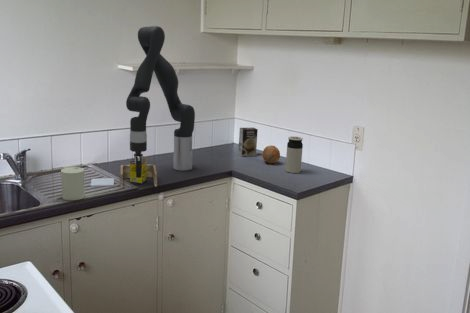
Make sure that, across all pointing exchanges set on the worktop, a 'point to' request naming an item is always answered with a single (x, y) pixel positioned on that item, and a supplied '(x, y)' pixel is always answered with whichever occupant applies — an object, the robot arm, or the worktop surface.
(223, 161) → the worktop surface
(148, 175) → the open wooden frame
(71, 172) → the can
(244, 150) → the coffee box
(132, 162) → the supplement box
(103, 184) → the pad
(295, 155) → the travel mug
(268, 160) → the onion
